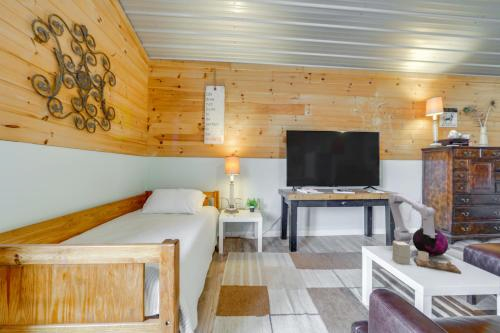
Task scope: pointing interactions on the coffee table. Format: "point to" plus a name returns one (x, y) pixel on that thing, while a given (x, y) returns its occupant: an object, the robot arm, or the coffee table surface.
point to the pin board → (438, 266)
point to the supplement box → (401, 252)
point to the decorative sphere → (421, 246)
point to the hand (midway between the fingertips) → (430, 247)
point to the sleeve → (423, 257)
